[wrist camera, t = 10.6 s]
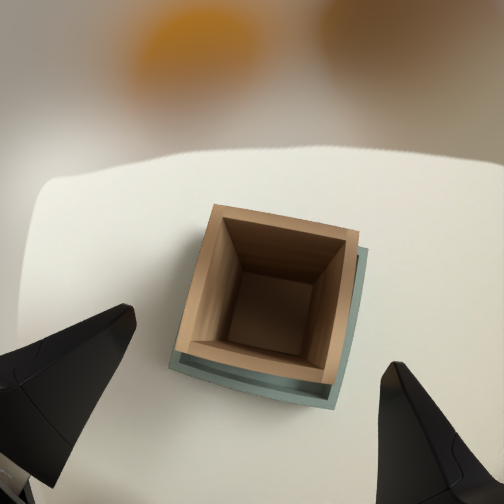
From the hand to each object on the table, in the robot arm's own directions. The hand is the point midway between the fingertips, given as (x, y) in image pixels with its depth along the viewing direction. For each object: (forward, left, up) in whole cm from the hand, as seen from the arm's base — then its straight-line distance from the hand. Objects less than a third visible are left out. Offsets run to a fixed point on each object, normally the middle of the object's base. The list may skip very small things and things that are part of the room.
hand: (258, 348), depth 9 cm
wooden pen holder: (+1, +2, -11) cm, 11 cm away
